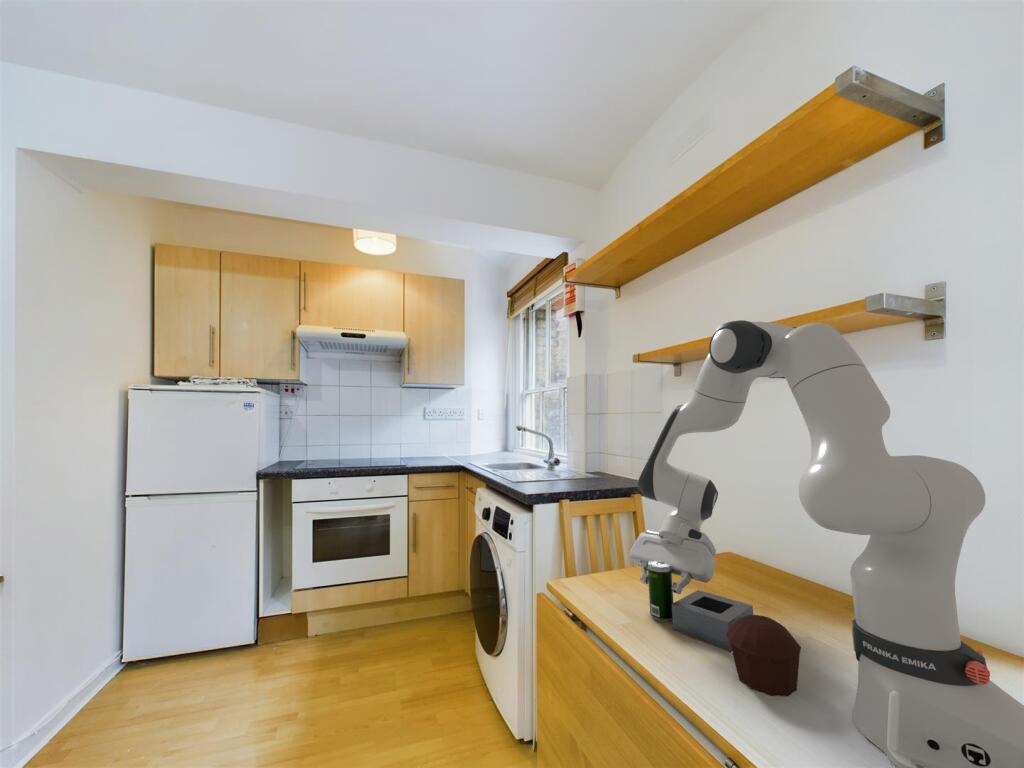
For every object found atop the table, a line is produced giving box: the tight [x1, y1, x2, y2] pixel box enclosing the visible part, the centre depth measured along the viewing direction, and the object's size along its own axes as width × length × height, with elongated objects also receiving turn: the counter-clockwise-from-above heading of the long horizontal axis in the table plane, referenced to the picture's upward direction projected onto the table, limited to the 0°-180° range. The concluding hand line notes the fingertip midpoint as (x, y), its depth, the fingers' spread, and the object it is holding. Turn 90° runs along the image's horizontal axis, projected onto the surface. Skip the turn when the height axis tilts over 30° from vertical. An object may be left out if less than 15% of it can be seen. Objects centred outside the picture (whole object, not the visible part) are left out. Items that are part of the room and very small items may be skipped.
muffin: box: [726, 614, 802, 697], centre depth 72 cm, size 12×11×10 cm
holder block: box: [672, 589, 754, 653], centre depth 90 cm, size 12×12×6 cm
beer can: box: [647, 561, 674, 623], centre depth 97 cm, size 5×5×12 cm
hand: (659, 587), depth 97 cm, fingers open, 7 cm apart
